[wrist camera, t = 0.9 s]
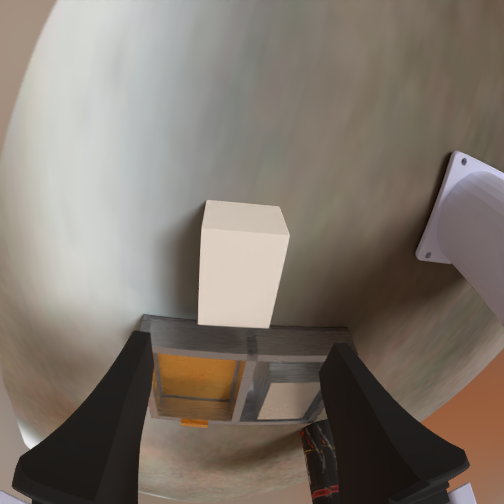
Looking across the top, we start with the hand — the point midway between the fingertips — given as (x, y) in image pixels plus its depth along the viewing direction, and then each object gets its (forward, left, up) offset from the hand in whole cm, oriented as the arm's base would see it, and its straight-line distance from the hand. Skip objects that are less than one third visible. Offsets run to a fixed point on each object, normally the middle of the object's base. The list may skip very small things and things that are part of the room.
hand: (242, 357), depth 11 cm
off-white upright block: (0, 0, -8) cm, 8 cm away
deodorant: (-14, +25, -8) cm, 30 cm away
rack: (-2, +11, -8) cm, 14 cm away
